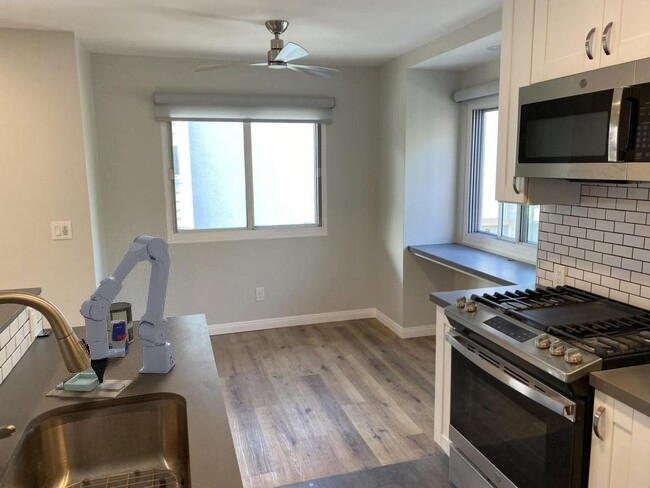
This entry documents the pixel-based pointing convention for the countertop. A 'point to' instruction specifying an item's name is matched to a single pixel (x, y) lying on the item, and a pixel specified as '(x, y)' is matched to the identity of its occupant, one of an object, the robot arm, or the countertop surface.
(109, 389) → the beige rectangular board
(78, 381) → the holder
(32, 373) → the countertop surface
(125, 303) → the coffee can
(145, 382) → the countertop surface
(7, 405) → the countertop surface
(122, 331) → the energy drink
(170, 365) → the robot arm
